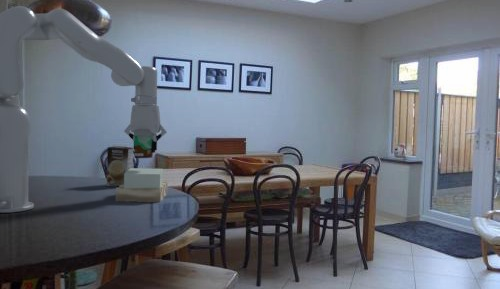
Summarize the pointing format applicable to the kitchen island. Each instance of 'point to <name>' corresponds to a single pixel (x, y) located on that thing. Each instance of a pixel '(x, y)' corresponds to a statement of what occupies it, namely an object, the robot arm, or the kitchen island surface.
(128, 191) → the tower base slab
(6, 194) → the robot arm
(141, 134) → the food container
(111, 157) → the coffee box
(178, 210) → the kitchen island surface
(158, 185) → the tower top slab
